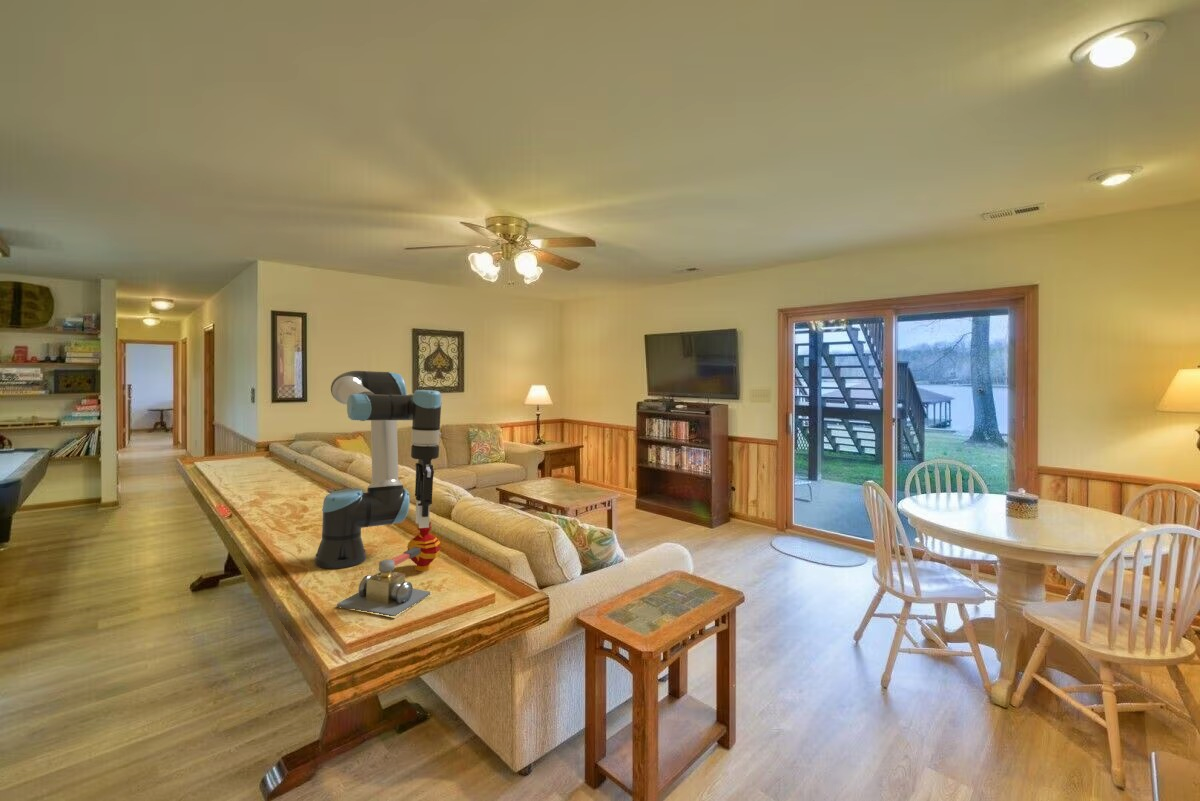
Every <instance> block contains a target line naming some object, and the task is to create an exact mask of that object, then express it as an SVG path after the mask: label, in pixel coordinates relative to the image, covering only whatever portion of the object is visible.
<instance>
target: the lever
mask: <svg viewBox="0 0 1200 801" xmlns="http://www.w3.org/2000/svg"><path fill="white" fill-rule="evenodd" d="M420 553H421V548H415V547H413V548H411V549H409V550H408V549H407V550H406V551H405V550H404V552H403V553H401V554H399V555H397V556H395V557H393V558H391V559H383V560H380V561H379V562H378V571H379V572H389V571H392V572H393V571H394V570H395V566H398V565H399V564H402V563H403V562H405V561H407V560H411V558H413V557H415V556H417V555H419V554H420Z"/></svg>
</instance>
